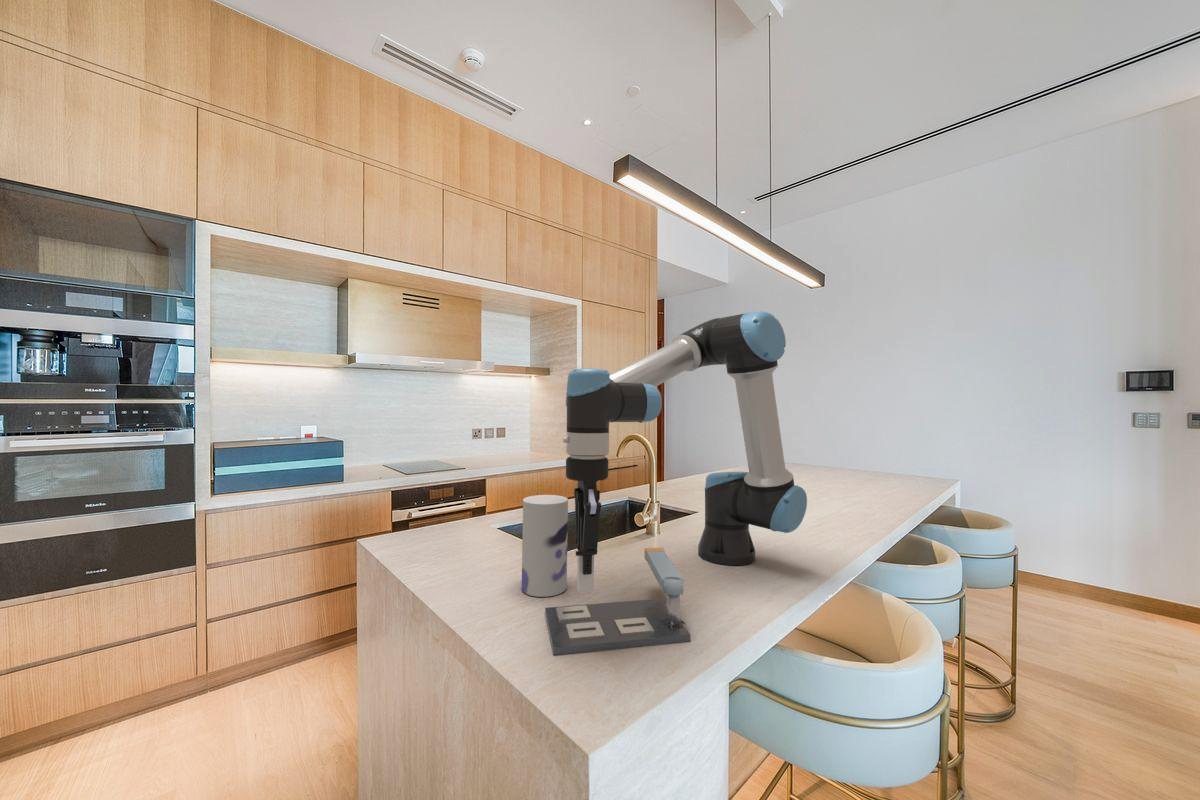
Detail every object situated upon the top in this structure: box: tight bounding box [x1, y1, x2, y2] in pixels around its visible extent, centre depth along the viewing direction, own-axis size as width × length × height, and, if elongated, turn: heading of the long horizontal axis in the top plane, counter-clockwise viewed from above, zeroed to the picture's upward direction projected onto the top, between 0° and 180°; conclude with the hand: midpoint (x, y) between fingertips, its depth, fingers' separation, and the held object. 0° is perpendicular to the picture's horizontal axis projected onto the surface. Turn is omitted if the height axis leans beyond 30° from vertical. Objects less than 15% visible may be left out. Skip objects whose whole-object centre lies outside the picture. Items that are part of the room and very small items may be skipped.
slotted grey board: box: [544, 598, 692, 656], centre depth 84 cm, size 24×15×2 cm, turn 102°
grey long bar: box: [643, 547, 685, 596], centre depth 92 cm, size 21×4×2 cm, turn 4°
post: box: [661, 594, 686, 629], centre depth 84 cm, size 4×4×7 cm
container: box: [521, 494, 569, 598], centre depth 102 cm, size 10×10×20 cm
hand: (585, 590), depth 80 cm, fingers closed
